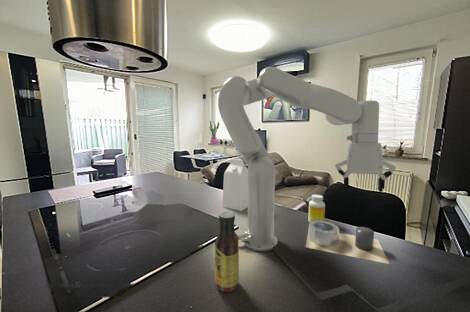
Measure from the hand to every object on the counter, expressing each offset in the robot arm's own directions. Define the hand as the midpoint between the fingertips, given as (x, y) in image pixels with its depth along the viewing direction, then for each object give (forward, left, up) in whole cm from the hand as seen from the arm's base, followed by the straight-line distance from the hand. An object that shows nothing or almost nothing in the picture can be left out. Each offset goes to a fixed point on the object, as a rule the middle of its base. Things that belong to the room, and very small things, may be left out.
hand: (363, 189), depth 72 cm
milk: (-26, +55, -21) cm, 64 cm away
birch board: (-5, +3, -21) cm, 22 cm away
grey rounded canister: (0, -2, -20) cm, 20 cm away
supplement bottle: (-1, +21, -21) cm, 30 cm away
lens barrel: (-10, +7, -20) cm, 23 cm away
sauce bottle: (-49, -2, -21) cm, 54 cm away
